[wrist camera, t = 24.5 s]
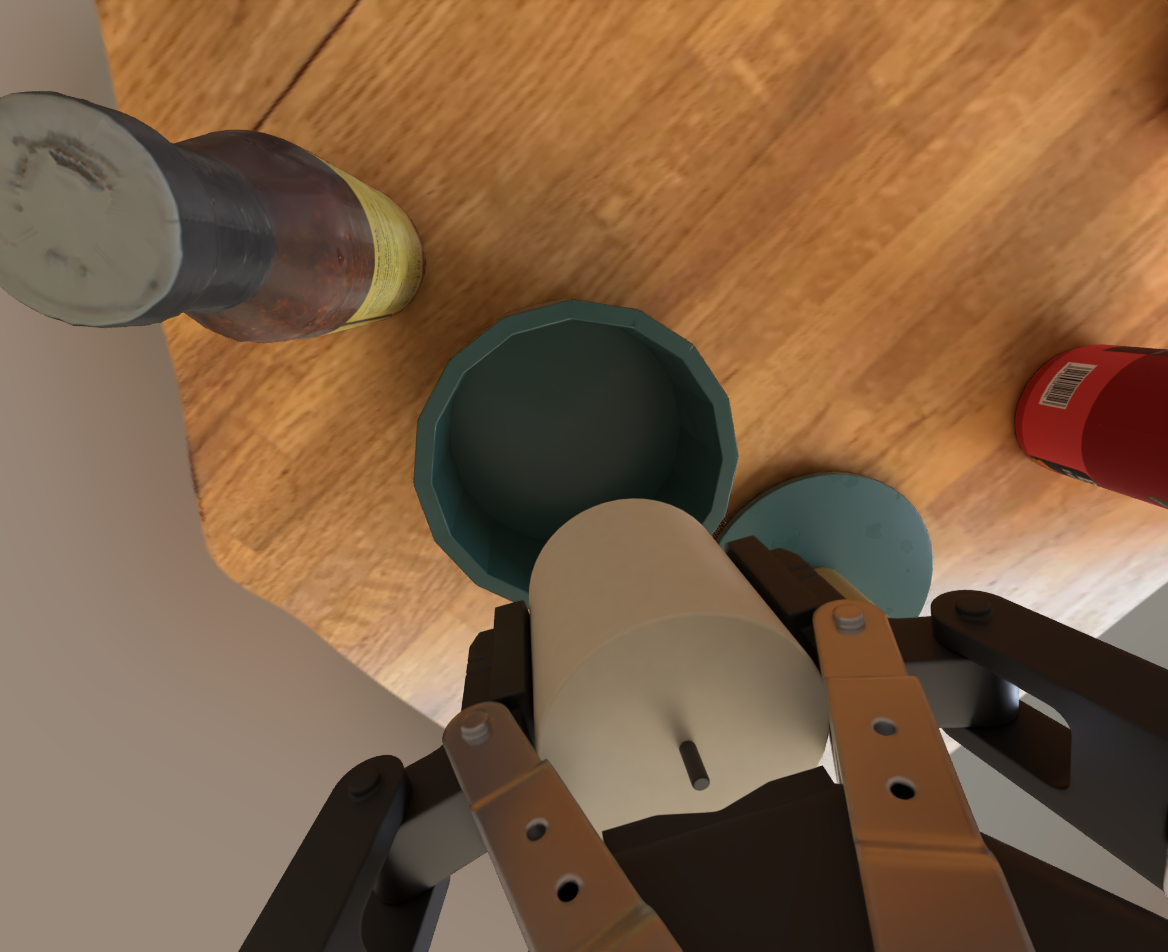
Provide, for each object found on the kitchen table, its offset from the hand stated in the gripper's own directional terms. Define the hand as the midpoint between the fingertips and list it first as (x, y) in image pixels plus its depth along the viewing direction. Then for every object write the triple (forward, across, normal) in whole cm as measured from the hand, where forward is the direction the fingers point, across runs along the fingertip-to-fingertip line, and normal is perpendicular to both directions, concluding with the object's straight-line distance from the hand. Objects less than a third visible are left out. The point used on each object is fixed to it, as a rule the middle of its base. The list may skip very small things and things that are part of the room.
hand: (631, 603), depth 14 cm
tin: (+20, 0, 0) cm, 20 cm away
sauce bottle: (+20, +8, -11) cm, 24 cm away
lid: (+19, -13, +14) cm, 27 cm away
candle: (+1, 0, 0) cm, 1 cm away
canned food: (+20, -31, +7) cm, 37 cm away
